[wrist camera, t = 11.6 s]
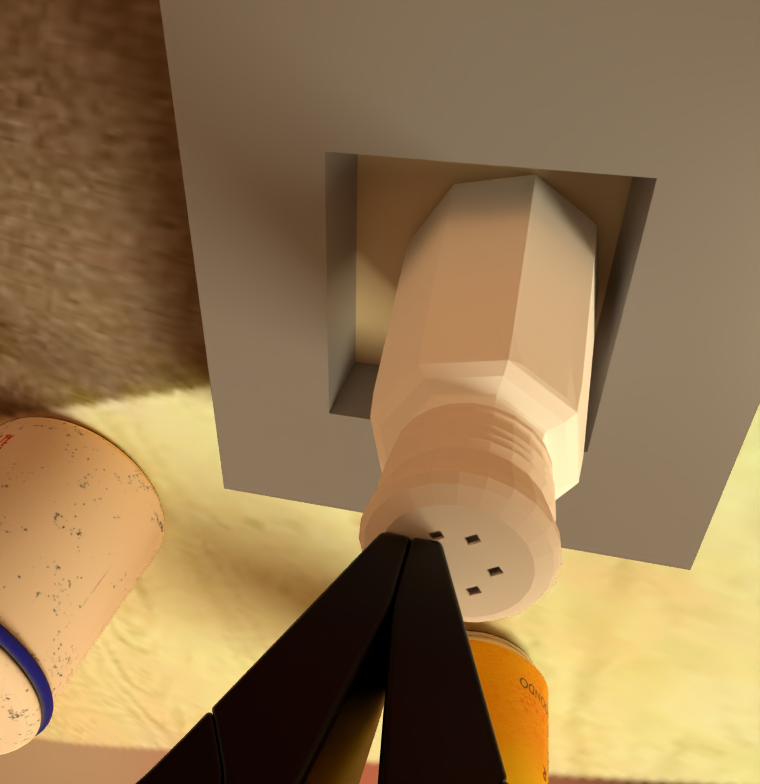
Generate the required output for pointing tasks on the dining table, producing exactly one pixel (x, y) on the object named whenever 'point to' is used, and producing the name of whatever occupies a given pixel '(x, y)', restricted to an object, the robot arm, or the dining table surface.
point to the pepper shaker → (487, 388)
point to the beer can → (514, 706)
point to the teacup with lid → (63, 558)
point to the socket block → (429, 186)
